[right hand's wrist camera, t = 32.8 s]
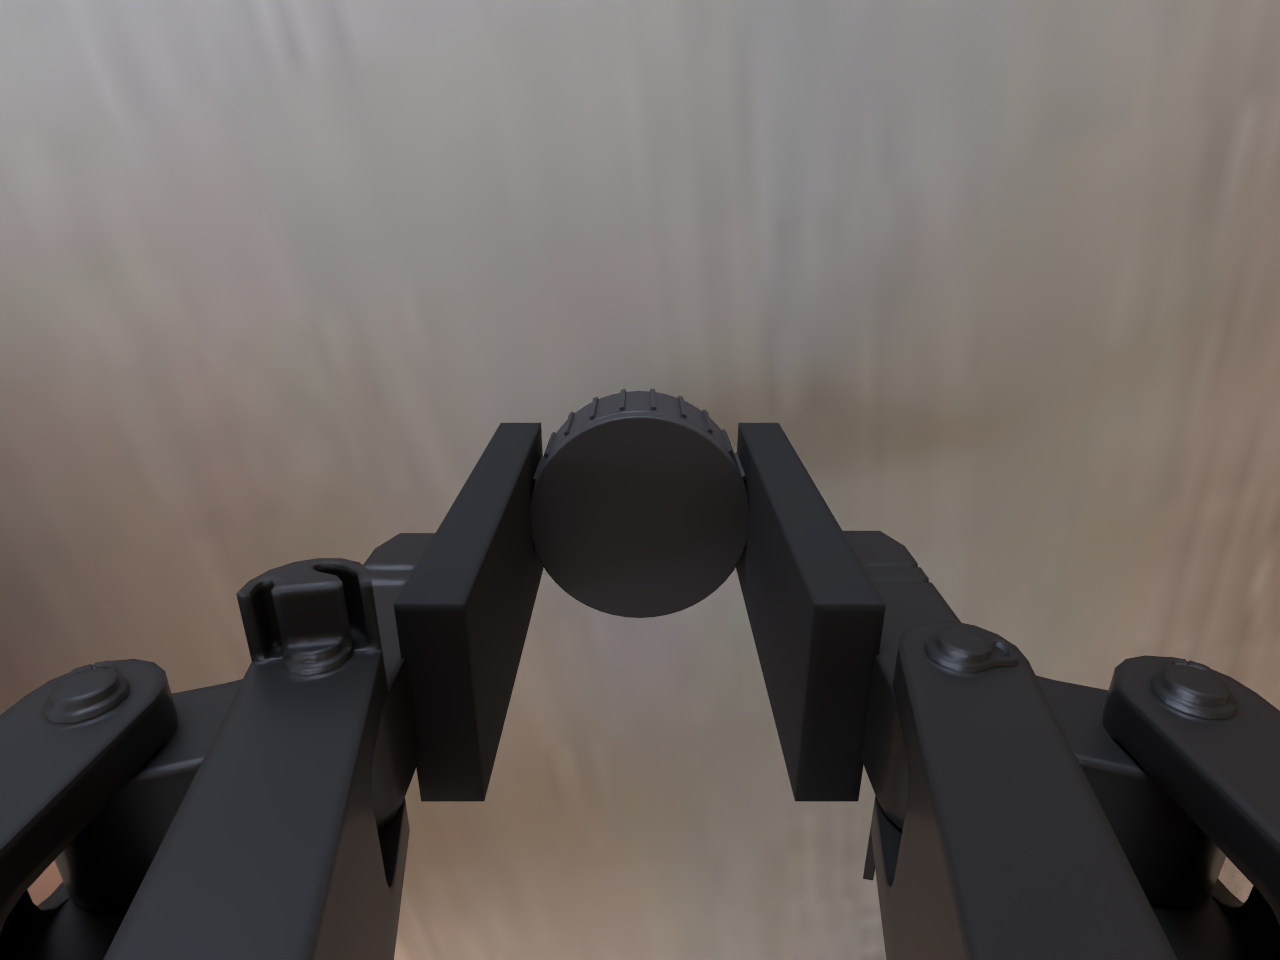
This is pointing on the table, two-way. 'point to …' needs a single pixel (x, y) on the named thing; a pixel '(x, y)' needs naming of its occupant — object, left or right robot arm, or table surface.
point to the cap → (639, 505)
